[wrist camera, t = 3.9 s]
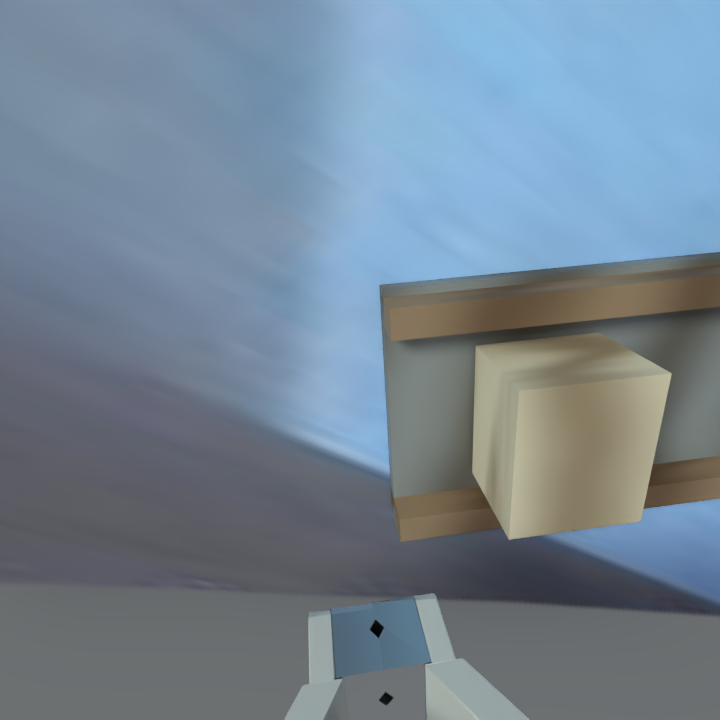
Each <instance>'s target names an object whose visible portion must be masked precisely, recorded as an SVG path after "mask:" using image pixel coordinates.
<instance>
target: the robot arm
mask: <svg viewBox="0 0 720 720" xmlns="http://www.w3.org/2000/svg"><path fill="white" fill-rule="evenodd" d="M308 622H309V623H308V628H309V629H308V630H309V684H306V685H303V686H302V688H301V690H300V691H299V693H298V695H297V697H296V699H295V700H294V702H293V704H292V706H291V708H290V710H289V711H288V714H287V715H286V717H285V719H284V720H530V719H528V717H526V716H525V715H524V714H523V713H522V712H521V711H520V710H519V709H518V708H517V707H516V706H515V705H514V704H512V703H511V702H510V701H509V700H508V699H507V698H506V697H505V696H504V695H503V694H502V693H501V692H499V691H498V690H497V689H496V688H495V687H494V686H493V685H492V684H491V683H490V682H489V681H487V680H486V679H485V678H484V677H483V676H482V675H481V674H480V673H479V672H478V671H477V670H476V669H474V668H473V667H472V666H471V665H470V664H469V663H468V662H467V661H466V660H465V659H464V658H459V659H457V658H456V655H455V652H454V649H453V646H452V643H451V640H450V637H449V634H448V630H447V627H446V625H445V621H444V618H443V615H442V612H441V609H440V606H439V603H438V600H437V597H436V595H435V594H434V593H430V594H424V595H418V596H409V597H403V598H397V599H391V600H385V601H380V602H374V603H372V604H366V605H358V606H351V607H343V608H335V609H328V610H321V611H314V612H309V619H308Z"/></svg>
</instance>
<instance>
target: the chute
mask: <svg viewBox="0 0 720 720" xmlns="http://www.w3.org/2000/svg"><path fill="white" fill-rule="evenodd" d="M380 302H381V320H382V337H383V355H384V373H385V391H386V408H387V426H388V444H389V461H390V479H391V497H392V513H393V517H394V521H395V524H396V525H397V529H398V533H399V537H400V541H401V542H403V541H410V540H417V539H425V538H432V537H439V536H447V535H454V534H461V533H469V532H476V531H484V530H491V529H498V528H502V526H501V524H500V523H499V521H498V519H497V517H496V515H495V513H494V512H493V510H492V508H491V506H490V504H489V502H488V501H487V499H486V497H485V495H484V493H483V491H482V490H481V488H480V486H479V484H478V482H477V480H476V479H475V477H474V475H473V473H472V462H473V426H474V390H475V353H476V345H485V344H495V343H504V342H513V341H523V340H532V339H541V338H551V337H560V336H569V335H578V334H588V333H597V332H599V333H601V334H602V335H604V336H606V337H608V338H610V339H611V340H613V341H615V342H617V343H618V344H620V345H622V346H624V347H626V348H627V349H629V350H631V351H633V352H635V353H636V354H638V355H640V356H642V357H644V358H645V359H647V360H649V361H651V362H653V363H654V364H656V365H658V366H660V367H661V368H663V369H665V370H667V371H669V372H670V373H672V375H671V380H670V385H669V389H668V394H667V399H666V404H665V408H664V413H663V418H662V423H661V427H660V432H659V437H658V442H657V446H656V451H655V456H654V461H653V465H652V470H651V475H650V480H649V484H648V489H647V494H646V499H645V503H644V508H643V509H645V508H652V507H660V506H667V505H674V504H682V503H689V502H696V501H704V500H711V499H718V498H720V252H717V253H707V254H697V255H686V256H676V257H666V258H655V259H645V260H635V261H624V262H614V263H604V264H593V265H583V266H573V267H562V268H552V269H542V270H531V271H521V272H511V273H500V274H490V275H480V276H469V277H459V278H449V279H438V280H428V281H417V282H407V283H397V284H386V285H380Z"/></svg>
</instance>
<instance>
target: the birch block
mask: <svg viewBox="0 0 720 720" xmlns="http://www.w3.org/2000/svg"><path fill="white" fill-rule="evenodd" d="M671 375H672V373H670V372H669V371H667V370H665V369H663V368H661V367H660V366H658V365H656V364H654V363H653V362H651V361H649V360H647V359H645V358H644V357H642V356H640V355H638V354H636V353H635V352H633V351H631V350H629V349H627V348H626V347H624V346H622V345H620V344H618V343H617V342H615V341H613V340H611V339H610V338H608V337H606V336H604V335H602V334H601V333H599V332H597V333H588V334H578V335H569V336H560V337H551V338H541V339H532V340H523V341H513V342H504V343H495V344H485V345H476V353H475V390H474V426H473V462H472V473H473V475H474V477H475V479H476V480H477V482H478V484H479V486H480V488H481V490H482V491H483V493H484V495H485V497H486V499H487V501H488V502H489V504H490V506H491V508H492V510H493V512H494V513H495V515H496V517H497V519H498V521H499V523H500V524H501V526H502V528H503V530H504V532H505V534H506V535H507V537H508V539H509V540H510V539H517V538H525V537H532V536H539V535H546V534H554V533H561V532H568V531H575V530H583V529H590V528H597V527H604V526H612V525H619V524H626V523H633V522H641V518H642V513H643V508H644V503H645V499H646V494H647V489H648V484H649V480H650V475H651V470H652V465H653V461H654V456H655V451H656V446H657V442H658V437H659V432H660V427H661V423H662V418H663V413H664V408H665V404H666V399H667V394H668V389H669V385H670V380H671Z"/></svg>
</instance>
